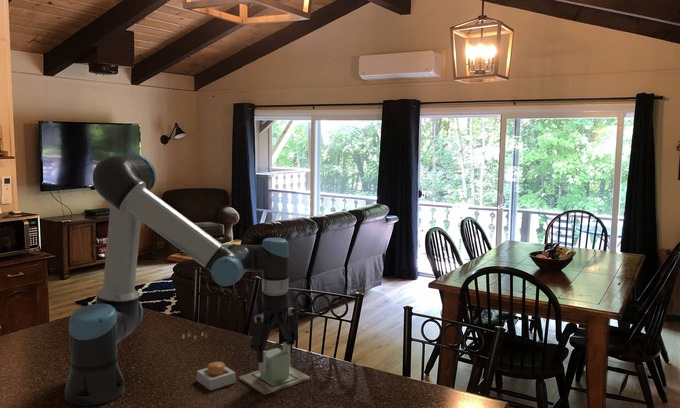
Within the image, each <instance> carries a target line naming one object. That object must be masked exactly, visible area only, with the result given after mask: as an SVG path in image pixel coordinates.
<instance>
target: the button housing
mask: <svg viewBox="0 0 680 408" xmlns="http://www.w3.org/2000/svg"><path fill="white" fill-rule="evenodd" d="M236 374H237V373H236V372H235V371H234V370H232V369H230V368H229V367H227V366H226V365H225V374H223V375H219V376H216V377H211V376H209V375H208V367H205V368H202V369H199V370H196V382H198V383H200V385H202V386H203V387H205V388H206V389H208V390H210V391H213V390H217V389H219V388H223V387H225V386H229V385H232V384H236V382H237V381H236V380H237V379H236V378H237V375H236Z"/></svg>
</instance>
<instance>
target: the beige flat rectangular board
mask: <svg viewBox="0 0 680 408" xmlns="http://www.w3.org/2000/svg"><path fill="white" fill-rule="evenodd" d="M238 380H239V381H241V382H243V383H244V384H246V385H247V386H248V387H251V388H252V389H254V390H255V391H257V392H258V393H260V394H261V395H263V396H265V395H268V394H271V393H274V392H277V391H280V390H283V389H286V388H290V387H291V386H295V385H298V384H302V383H304V382H307V381H310V380H311V376H309V375H307V374H306V373H303V372H302V371H300V370H297V369H296V368H294V367H292V366H291V365H290V366H289V377H288V378H285V379H282V380H279V381H275V382H270V381H268V380H267V379H265V378H263V377H262V376H260V372H259V370H256V371H253V372H252V371H251V372H249V373H246V374H242V375H240V376H239V377H238Z"/></svg>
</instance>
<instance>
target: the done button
mask: <svg viewBox="0 0 680 408" xmlns="http://www.w3.org/2000/svg"><path fill="white" fill-rule="evenodd" d="M225 366H226V365H225V363H224V362H223V361H213V362H210V363H208V364H207V368H208V375H209V376H211V377H216V376H219V375H223V374H225Z"/></svg>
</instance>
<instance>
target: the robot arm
mask: <svg viewBox="0 0 680 408" xmlns="http://www.w3.org/2000/svg"><path fill="white" fill-rule="evenodd" d="M91 178H92V183H93V186H94V189H95V190H96V192H97V194H98V195H100V196H101V198H103V199H104V201H105V202H106V204H108V205H109V215H108V217H109V218H108V229H107V240H106V249H105V252H106V253H105V262H104V275H103V284H102V288H101V289H100V290H98V291H97V293H96V298H95V300H96V301H95V303H91V304H88V305H86V306H81V307H80V308H78V309H76V310H74V311H73V313H72V314H71V315H70V317H69V325H68V333H69V352H70V354H69V356H70V371H69V375H68V377H67V381H66V383H65V388H64V400H65V402H67V403H68V404H71V405H73V406H77V407H78V406H79V407H80V406H81V407H87V406H89V407H90V406H98V405H102V404H107V403H110V402H112V401H114V400H116V399H118V398H120V397H121V396H122V395H123V394H124V393H125V391H126V382H125V377H124V375H123V372H122V370H121V368H120V366H119V362H118V344H119V343H120V342H121V341H123V340H124V339H125V338H126V337H128V336H129V335H131V334H132V333H133V332H135V330H136V329H137V328H138V326H140V323H142V322H141V321H142V319H143V316H144V309H143V305H142V303H141V302H140V301H139V300H140V293H139V291H137V290H136V289H135V287H136V277H137V276H136V275H137V267H138V265H137V264H138V256H139V248H140V247H139V245H140V234H141V226H142V225H141V224H142V223H143V224H145V225H146V226H147V227H148V228H150V229H152V231H154V232H156V234H158V235H160V236H161V237H162V238H164V239H165V240H166V241H168V242H170V244H172V245H173V246H175V247H176V248H177V249H179V250H180V251H182V253H184V254H186V256H189V258H191V259H192V260H194V261H195V262H196V263H198V264H199V265H200V266H202V267H204V268H205V269H206V270H208V272H210V275H211V277H212V279H213V281H214V282H215V283H216V284H217V285H220V286H222V287H229V286H232V285H234V284H235V283H237V282H238V281H241V279H242V278H243V275H245V273H246V272H254V273H255V272H257V273H259V272H261V275H262V276H261V292H262V293H261V305H262V306H261V307H262V311H261V313H260V314H253V316H252V320H253V325H252V327H253V328H252V333H251V340H250V350H251V351H254V352H256V362H257V363H258V371H259V372H261V373H263V374H266V351H267V350H265V349H266V345H267V343H268V339H269V337H270V334H271V331H272V329H273V328H274V326H275V325H279V328H280V330H281V333H282V336H283V338H284V341H285V342H282V351H284V352H286V353H288V354H289V366H290V367H291V355H292V353H293V346H294V345H295V344H296V342H295V341H299V335H298V334H299V333H298V326H297V317H296V316H297V308H295V307H291V306H289V307H288V305H289V293H288V291H289V281H290V280H289V279H290V276H289V275H290V274H289V271H290V252H289V246H290V245H289V241H288V240H287V239H285V238H282V237H267V238H264V239H263V240H262V242H261V244H257V245H255V244H236V243H232V244H222V243H221V242H220V241H218V240H217V239H216V238H214V237H213V236H212V235H211V234H209V233H208V232H206V231H205V230H204V229H202V228H201V227H199V226H198V225H197V224H196V223H194V222H193V221H191V219H188V217H186V216H184V215H183V214H182V213H181V212H179V211H177V209H175V208H173V206H171V205H170V204H168V203H167V202H165V201H164V200H162V199H161V198H160V197H159V196H158V195H156V194H155V193H153V192H152V191H151V190H152V189H153V187H154V186H155V184H156V181H157V171H156V168H155V166H154V164H152V162H151V161H150V160H149V159H148V158H146V157H144V156H142V155H139V154H134V153H133V154H132V153H131V154H129V153H128V154H120V155H110V156H107V157H104V158H103V159H101V160H100V161H99V162H98V163H97V164H96V165H95V166H94V169H93V170H92V177H91ZM286 316H287V319H286Z"/></svg>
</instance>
